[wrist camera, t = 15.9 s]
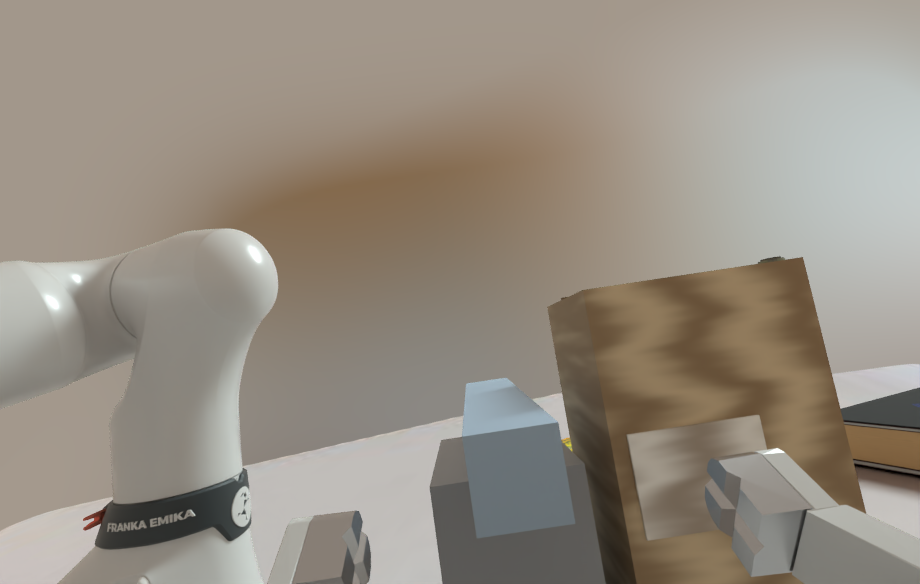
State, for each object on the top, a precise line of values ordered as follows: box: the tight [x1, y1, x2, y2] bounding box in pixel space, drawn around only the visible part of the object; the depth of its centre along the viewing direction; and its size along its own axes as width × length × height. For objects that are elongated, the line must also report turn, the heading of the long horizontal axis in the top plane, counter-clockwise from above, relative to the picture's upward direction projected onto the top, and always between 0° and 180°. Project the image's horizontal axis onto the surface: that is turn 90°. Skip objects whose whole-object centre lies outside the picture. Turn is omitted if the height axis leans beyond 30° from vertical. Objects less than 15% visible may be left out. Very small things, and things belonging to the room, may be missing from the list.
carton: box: [547, 257, 866, 584], centre depth 32 cm, size 14×12×26 cm
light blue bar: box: [462, 378, 575, 538], centre depth 31 cm, size 4×26×4 cm, turn 178°
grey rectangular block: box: [430, 437, 606, 584], centre depth 31 cm, size 9×13×16 cm
